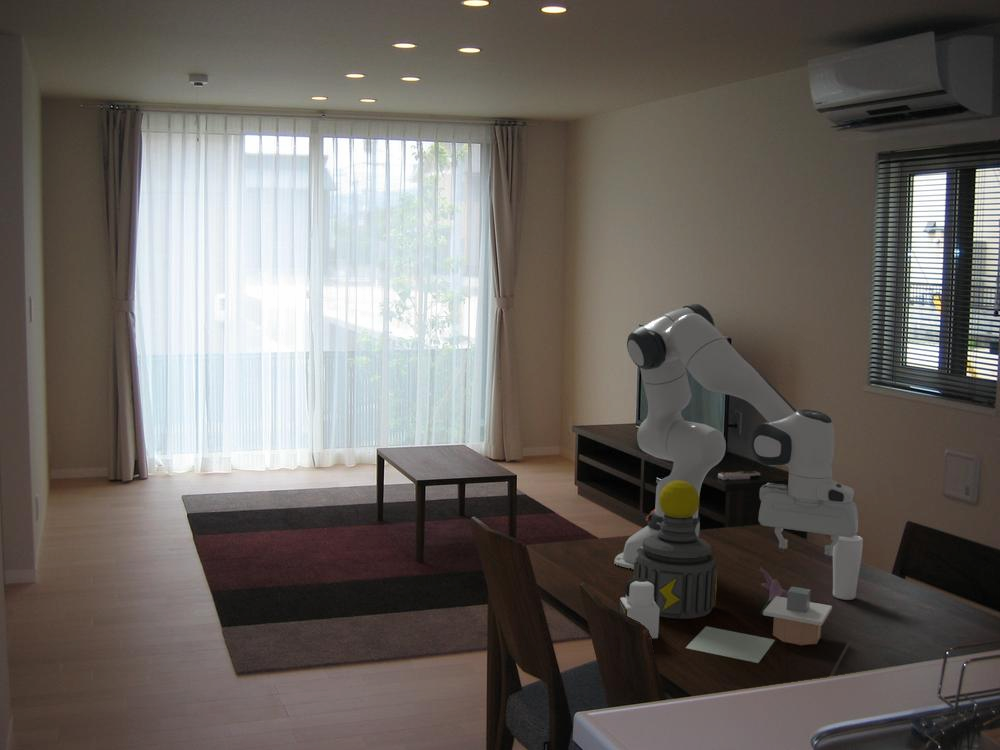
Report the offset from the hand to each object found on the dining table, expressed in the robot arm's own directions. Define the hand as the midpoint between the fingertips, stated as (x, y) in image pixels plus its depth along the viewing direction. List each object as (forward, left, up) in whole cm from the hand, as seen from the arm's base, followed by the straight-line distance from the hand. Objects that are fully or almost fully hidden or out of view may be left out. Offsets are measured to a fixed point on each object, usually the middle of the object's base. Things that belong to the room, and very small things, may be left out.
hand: (805, 551), depth 222 cm
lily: (-8, +15, -20) cm, 26 cm away
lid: (-1, -1, -13) cm, 13 cm away
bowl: (-1, -1, -19) cm, 19 cm away
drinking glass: (+3, +35, -20) cm, 40 cm away
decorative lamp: (-30, +4, -20) cm, 36 cm away
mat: (-12, -13, -19) cm, 26 cm away
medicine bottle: (-31, -17, -20) cm, 40 cm away
